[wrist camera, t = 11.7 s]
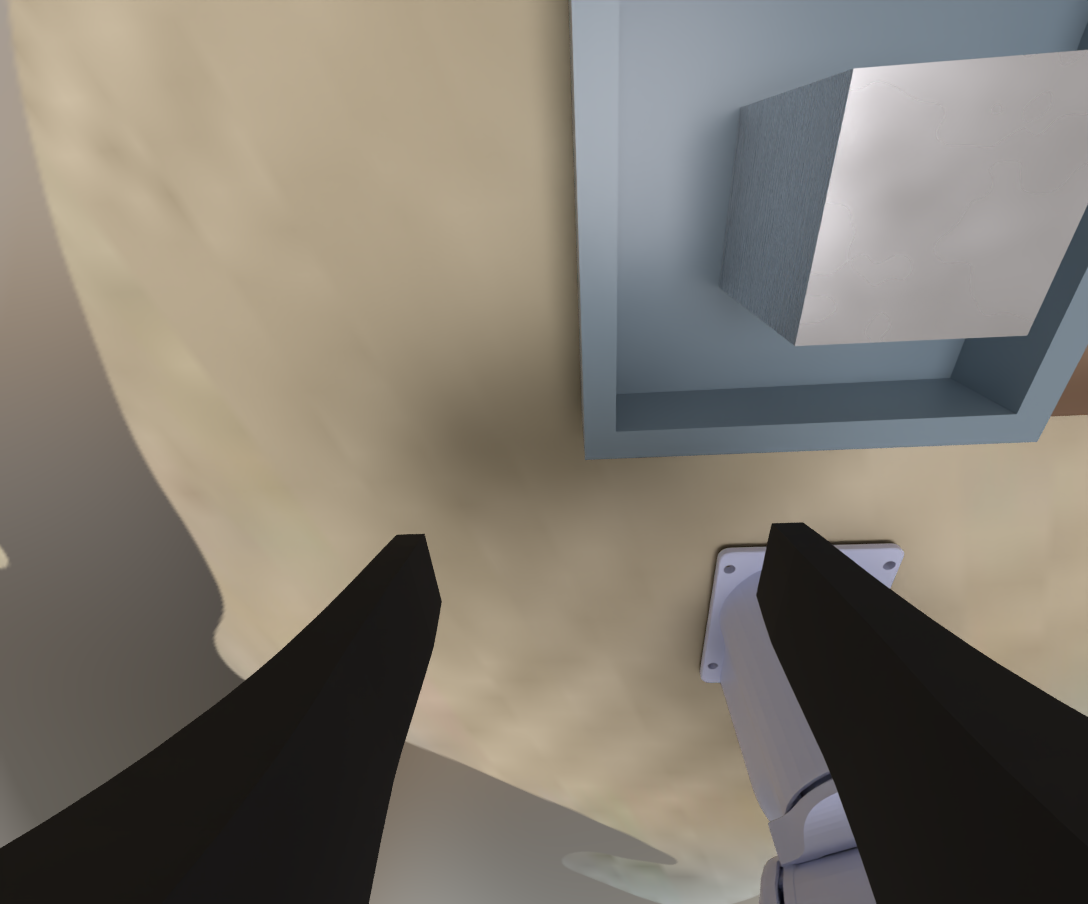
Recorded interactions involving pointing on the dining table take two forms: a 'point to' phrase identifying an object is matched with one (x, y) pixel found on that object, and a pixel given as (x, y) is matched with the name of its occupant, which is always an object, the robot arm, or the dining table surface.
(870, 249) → the metal block
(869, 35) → the bin
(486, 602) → the dining table surface
